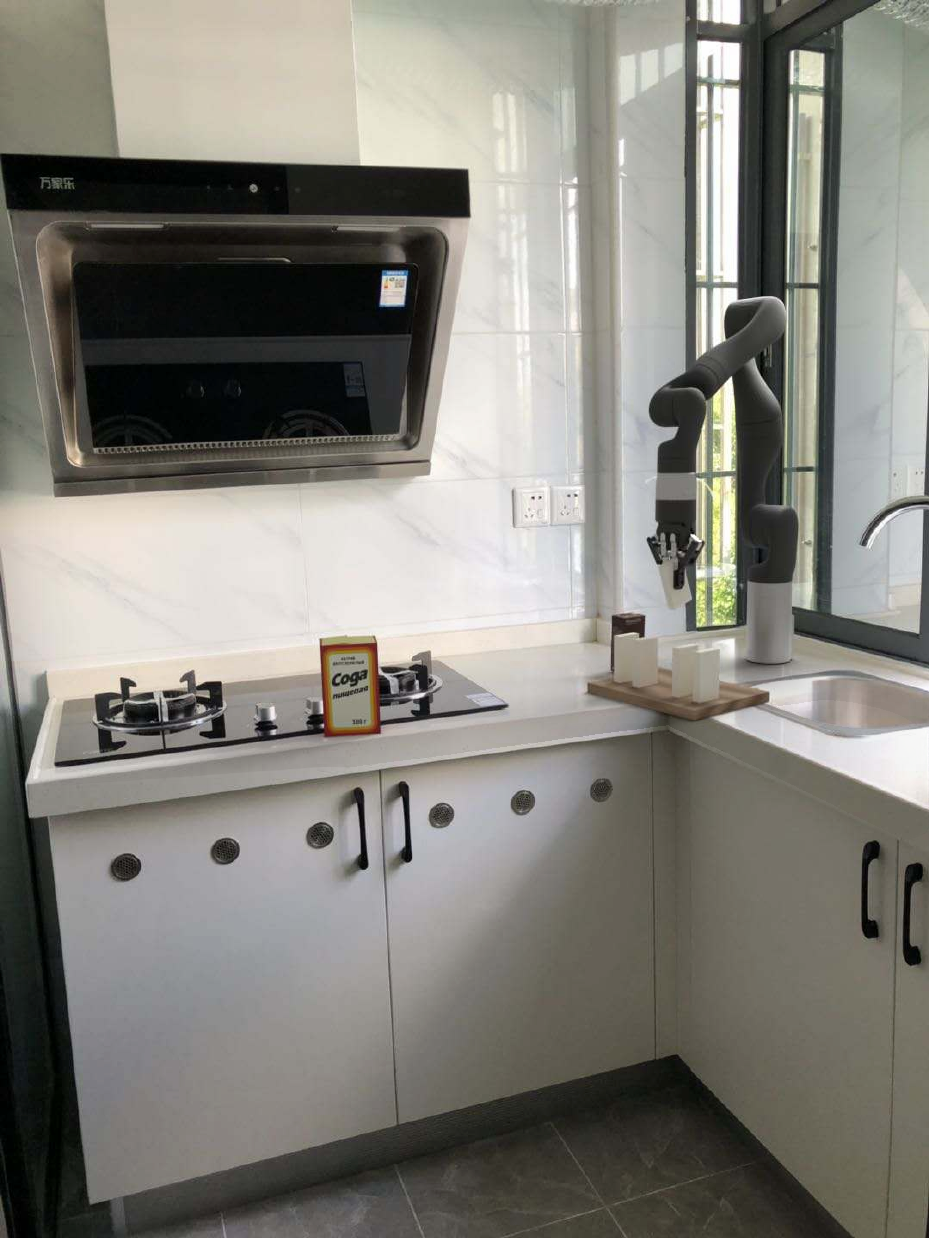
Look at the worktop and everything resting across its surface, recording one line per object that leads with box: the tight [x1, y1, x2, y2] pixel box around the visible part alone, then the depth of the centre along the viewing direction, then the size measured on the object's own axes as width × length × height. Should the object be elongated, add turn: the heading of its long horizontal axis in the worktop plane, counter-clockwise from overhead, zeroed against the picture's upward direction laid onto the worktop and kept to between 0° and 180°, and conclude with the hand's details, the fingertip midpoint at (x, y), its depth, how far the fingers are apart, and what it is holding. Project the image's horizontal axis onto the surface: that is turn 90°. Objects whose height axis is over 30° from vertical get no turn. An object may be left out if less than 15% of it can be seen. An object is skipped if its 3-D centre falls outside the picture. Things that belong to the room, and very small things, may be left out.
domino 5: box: [693, 647, 721, 703], centre depth 180 cm, size 2×5×9 cm, turn 125°
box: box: [610, 611, 646, 673], centre depth 211 cm, size 6×4×12 cm
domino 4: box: [671, 643, 699, 698], centre depth 184 cm, size 2×5×9 cm, turn 125°
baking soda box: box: [319, 635, 382, 738], centre depth 173 cm, size 10×6×16 cm
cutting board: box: [586, 667, 771, 721], centre depth 190 cm, size 20×27×2 cm
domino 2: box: [633, 635, 659, 688], centre depth 192 cm, size 2×5×9 cm, turn 125°
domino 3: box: [657, 557, 693, 611], centre depth 193 cm, size 2×5×9 cm, turn 125°
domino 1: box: [613, 632, 639, 683], centre depth 196 cm, size 2×5×9 cm, turn 125°
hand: (674, 588), depth 193 cm, fingers closed on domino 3, 1 cm apart
